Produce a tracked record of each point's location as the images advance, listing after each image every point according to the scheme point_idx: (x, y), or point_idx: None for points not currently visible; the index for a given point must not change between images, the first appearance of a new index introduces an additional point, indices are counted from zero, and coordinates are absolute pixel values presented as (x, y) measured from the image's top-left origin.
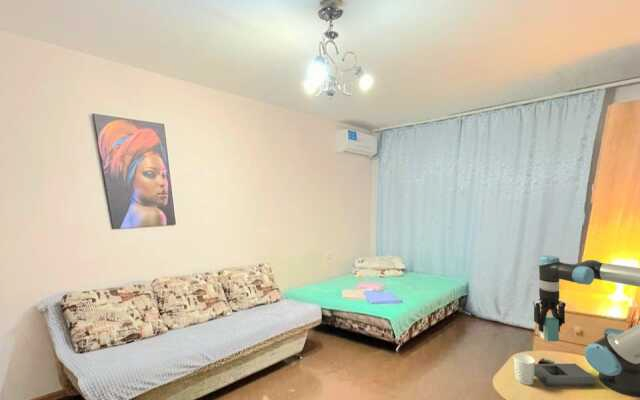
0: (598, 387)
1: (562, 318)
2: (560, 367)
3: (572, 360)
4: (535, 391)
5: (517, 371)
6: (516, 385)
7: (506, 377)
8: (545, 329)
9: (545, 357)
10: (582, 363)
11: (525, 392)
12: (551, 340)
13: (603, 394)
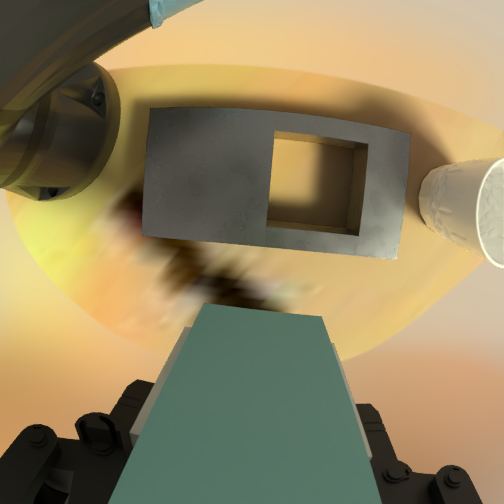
0: None
1: (15, 494)
2: (257, 207)
3: (105, 312)
4: (451, 126)
5: (500, 201)
6: None
7: None
8: None
9: None
10: (83, 285)
11: (483, 132)
12: (280, 316)
13: (181, 64)
